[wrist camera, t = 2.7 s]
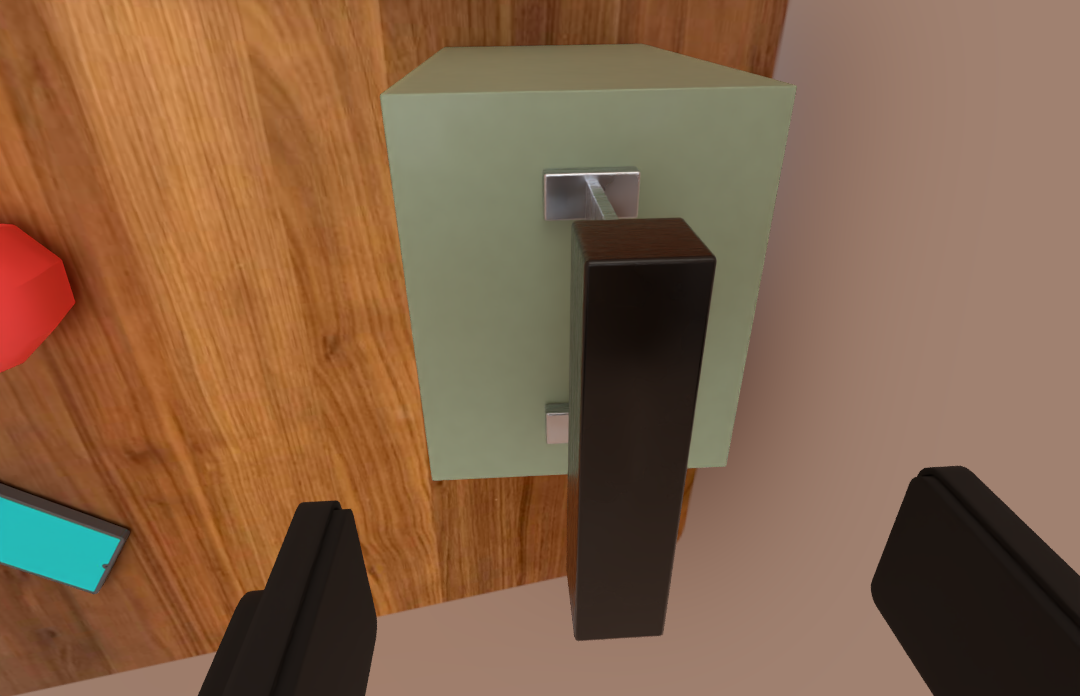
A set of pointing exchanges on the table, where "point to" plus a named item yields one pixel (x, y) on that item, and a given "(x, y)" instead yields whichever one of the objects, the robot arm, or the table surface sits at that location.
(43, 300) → the apple
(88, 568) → the smartphone
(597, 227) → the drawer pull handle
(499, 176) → the stand
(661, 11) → the table surface
